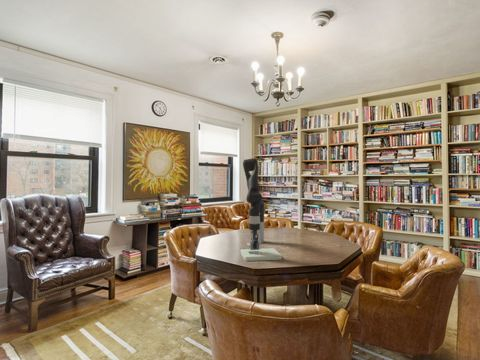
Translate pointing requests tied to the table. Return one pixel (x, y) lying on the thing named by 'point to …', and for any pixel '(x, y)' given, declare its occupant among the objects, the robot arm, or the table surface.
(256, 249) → the servo block
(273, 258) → the chassis board
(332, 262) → the table surface
